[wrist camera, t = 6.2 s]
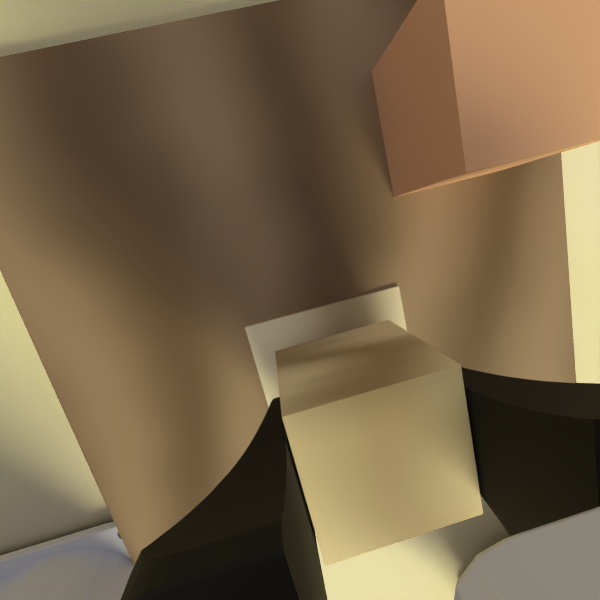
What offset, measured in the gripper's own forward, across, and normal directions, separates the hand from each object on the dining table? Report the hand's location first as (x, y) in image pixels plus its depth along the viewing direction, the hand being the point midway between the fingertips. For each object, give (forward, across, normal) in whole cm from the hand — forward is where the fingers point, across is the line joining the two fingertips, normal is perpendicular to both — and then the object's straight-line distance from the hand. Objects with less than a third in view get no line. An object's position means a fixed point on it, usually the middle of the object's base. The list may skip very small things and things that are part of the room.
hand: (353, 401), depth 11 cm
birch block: (+1, 0, 0) cm, 1 cm away
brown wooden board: (+3, 0, -4) cm, 5 cm away
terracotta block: (+2, -6, -9) cm, 11 cm away
